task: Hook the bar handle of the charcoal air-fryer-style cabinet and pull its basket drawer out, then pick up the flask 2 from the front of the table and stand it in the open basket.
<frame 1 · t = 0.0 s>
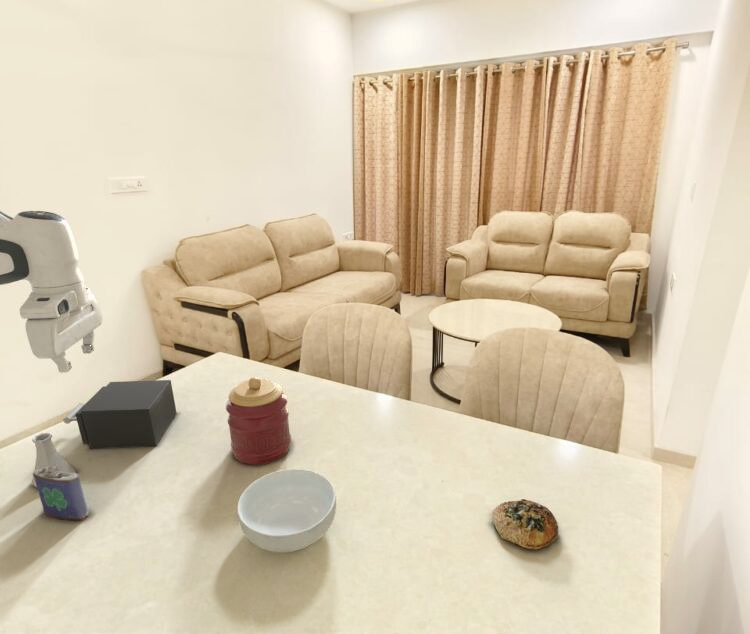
hand: (77, 361, 103), 22 cm above the table, tool pointing down, fingers open, 8 cm apart
bread roll: (523, 529, 88), on the table
kitchen canister: (262, 449, 112), on the table
cereal bowl: (290, 531, 88), on the table
flask: (54, 479, 102), on the table
fryer: (136, 430, 119), on the table
flask 2: (66, 515, 93), on the table
basket: (111, 413, 118), point 5 cm above the table, slide at 0.5 cm
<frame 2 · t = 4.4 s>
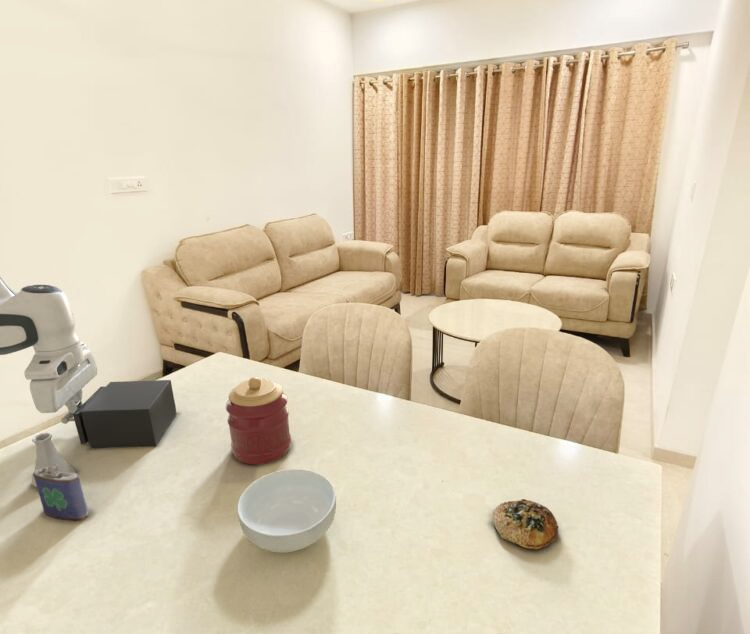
hand: (76, 410, 117), 6 cm above the table, tool pointing down, fingers closed, pressing on basket
basket: (109, 413, 118), point 5 cm above the table, slide at 1.0 cm, touching gripper
everything else where it was.
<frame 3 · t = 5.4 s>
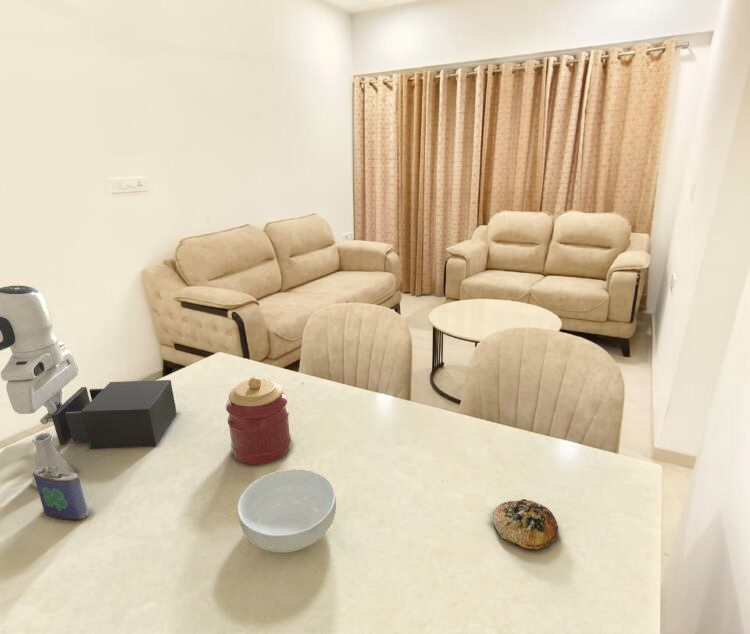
hand: (56, 410, 117), 6 cm above the table, tool pointing down, fingers closed, pressing on basket
basket: (89, 414, 117), point 5 cm above the table, slide at 5.6 cm, touching gripper
everything else where it was.
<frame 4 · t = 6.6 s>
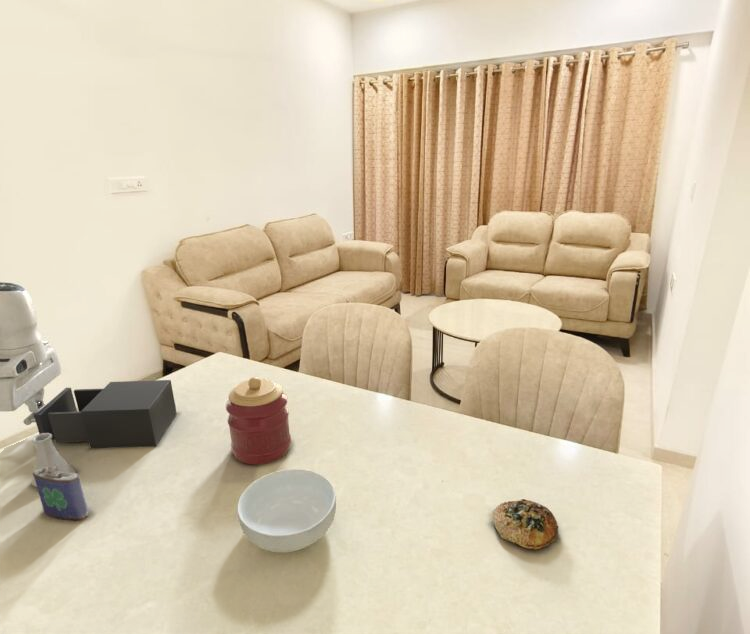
hand: (37, 409, 116), 7 cm above the table, tool pointing down, fingers closed
basket: (73, 414, 117), point 5 cm above the table, slide at 9.3 cm
everything else where it was.
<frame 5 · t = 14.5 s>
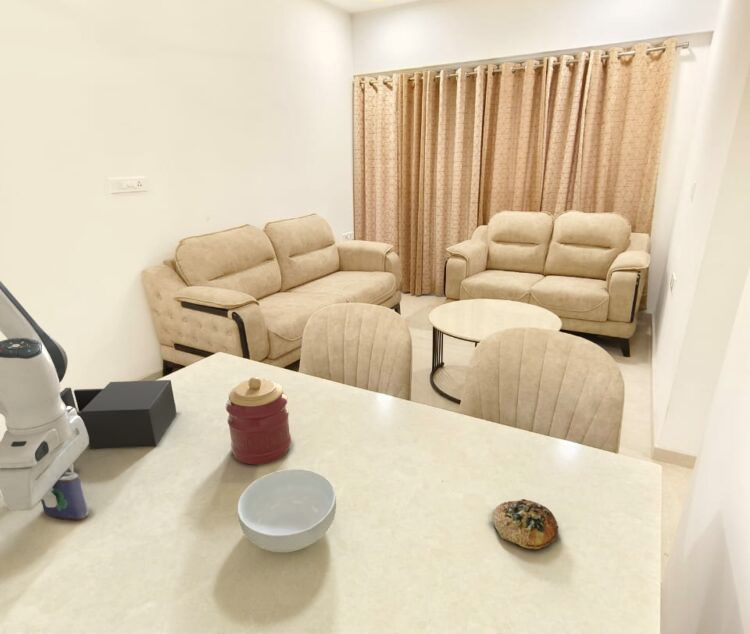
hand: (60, 496, 91), 4 cm above the table, tool pointing down, fingers closed on flask 2, 3 cm apart
flask 2: (66, 515, 93), on the table, touching gripper
everything else where it was.
when the fingers open (6 cm above the table, at t = 25.0 s): flask 2 stays where it is, resting on basket.
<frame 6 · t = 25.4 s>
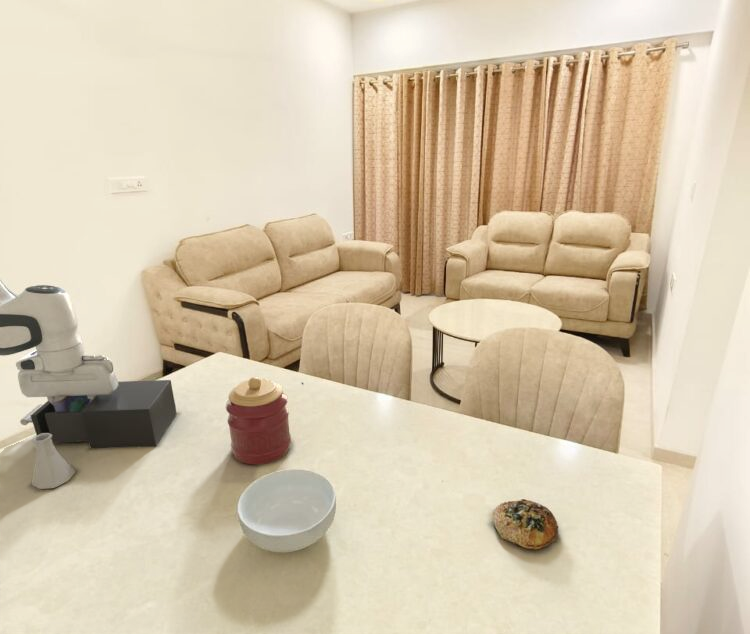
hand: (77, 410, 117), 6 cm above the table, tool pointing down, fingers open, 5 cm apart
flask 2: (78, 426, 118), point 2 cm above the table, touching basket
basket: (70, 415, 117), point 5 cm above the table, slide at 10.0 cm, touching flask 2, gripper
everything else where it was.
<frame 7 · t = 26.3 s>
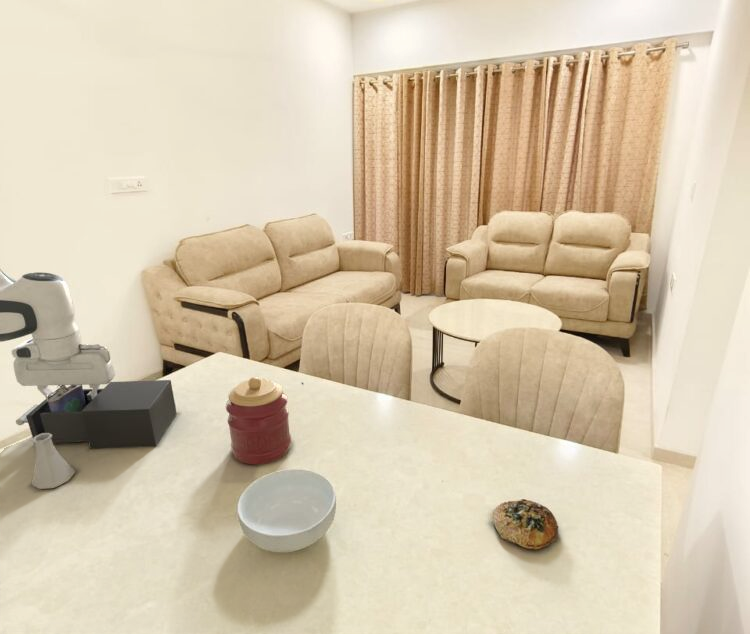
hand: (72, 400, 116), 9 cm above the table, tool pointing down, fingers open, 8 cm apart
basket: (66, 415, 117), point 5 cm above the table, slide at 11.0 cm, touching flask 2
everything else where it was.
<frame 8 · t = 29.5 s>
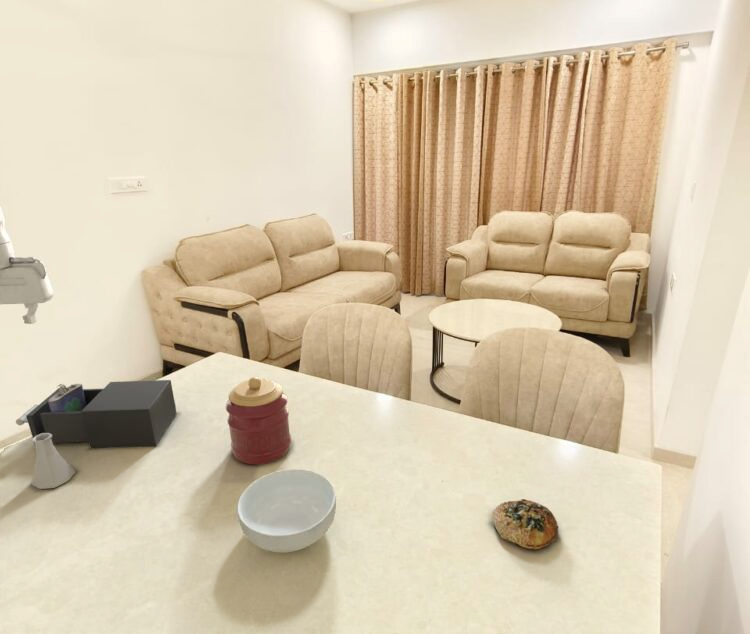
hand: (7, 323, 104), 29 cm above the table, tool pointing down, fingers open, 8 cm apart
nothing on the table moved.
at the end: basket slide at 11.0 cm; flask 2 inside the target area in the basket (1.6 cm from its centre), point 1.8 cm above the fryer's base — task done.
